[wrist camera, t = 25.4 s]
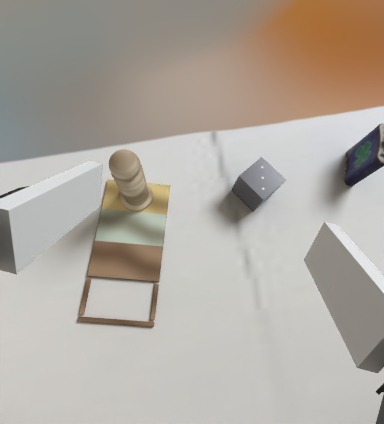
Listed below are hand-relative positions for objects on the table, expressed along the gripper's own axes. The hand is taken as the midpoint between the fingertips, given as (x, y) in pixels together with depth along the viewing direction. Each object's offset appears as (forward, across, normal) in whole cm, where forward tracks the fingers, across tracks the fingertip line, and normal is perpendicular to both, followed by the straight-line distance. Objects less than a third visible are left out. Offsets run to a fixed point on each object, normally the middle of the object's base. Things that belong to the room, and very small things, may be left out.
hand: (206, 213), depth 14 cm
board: (+22, +11, +20) cm, 32 cm away
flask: (+42, -29, 0) cm, 51 cm away
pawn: (+28, +12, +13) cm, 33 cm away
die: (+34, -9, +8) cm, 36 cm away
